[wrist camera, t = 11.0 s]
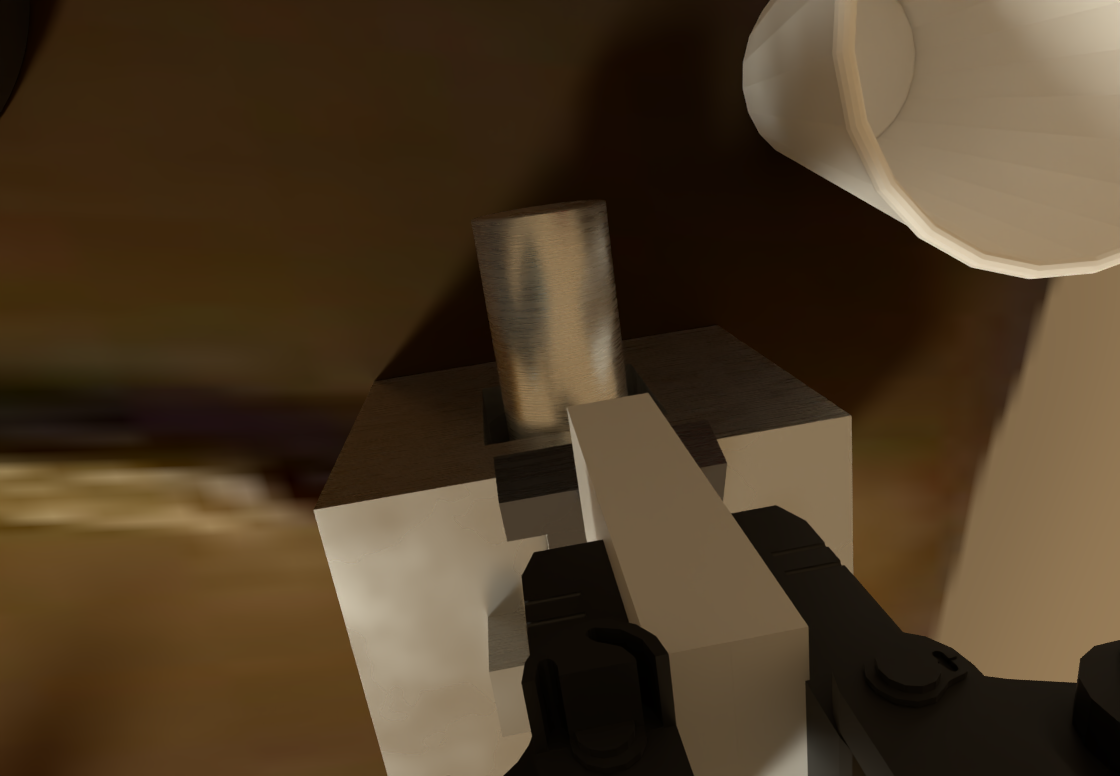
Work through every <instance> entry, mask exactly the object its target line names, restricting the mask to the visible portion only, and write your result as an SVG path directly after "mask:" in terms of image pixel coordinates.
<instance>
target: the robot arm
mask: <svg viewBox="0 0 1120 776" xmlns="http://www.w3.org/2000/svg"><path fill="white" fill-rule="evenodd" d="M29 17H30V0H0V112H1V111H2V109H3V107H4V106H5V104H6V102H7V100H8V98H9V96H10V94H11V92H12V90H13V87H14V85H15V83H16V80H17V77H18V74H19V71H20V68H21V65H22V62H23V57H24V53H25V49H26V44H27V37H28V30H29ZM567 412H568V419H569V426H570V433H571V440H572V446H573V453H574V460H575V467H576V473H577V480H578V487H579V494H580V501H581V507H582V514H583V521H584V528H585V534H586V539H587V542H586V543H581V544H575V545H570V546H565V547H559V548H554V549H548V550H543V551H537V552H534V553H533V555H532V557H531V559H530V560H529V562H528V564H527V566H526V568H525V570H524V572H523V574H522V576H521V577H522V586H523V596H524V604H525V615H526V624H527V635H528V644H529V654H530V656H529V657H528V658H527V660H526V661H525V664H524V670H523V676H522V681H521V684H522V689H523V694H524V699H525V704H526V709H527V714H528V719H529V724H530V729H531V734H532V737H531V740H530V743H529V745H528V747H527V748H526V750H525V751H524V753H523V754H522V756H521V758H520V759H519V761H518V762H517V763H516V764H515V765H514V766H513V767H512V768H511V769H510V770H509V771H508V772H506V773H505V774H504V775H503V776H1120V640H1118V641H1114V642H1110V643H1105V644H1101V645H1097V646H1094V647H1093V648H1092V649H1091V650H1090V651H1088V652H1087V653H1086V654H1085V655H1084V656H1083V657H1082V658H1081V659H1080V665H1079V672H1078V679H1077V683H1069V682H1068V683H1067V682H1051V681H1050V682H1049V681H1032V680H1031V681H1030V680H1014V679H1003V678H995V677H988V676H984V675H983V674H982V673H981V672H980V671H979V670H978V669H977V668H976V667H975V666H974V665H973V664H972V663H971V662H969V661H968V660H967V659H965V658H964V657H963V656H962V655H960V654H959V653H958V652H957V651H955V650H954V649H953V648H951V647H948V646H946V645H944V644H941V643H939V642H937V641H935V640H932V639H930V638H928V637H925V636H920V635H915V634H909V633H904V632H902V631H901V629H900V628H899V627H898V626H897V625H896V624H895V623H894V621H893V620H892V619H891V618H890V617H889V616H888V615H887V613H886V612H885V611H884V610H883V609H882V608H881V606H880V605H879V604H878V603H877V602H876V601H875V600H874V598H873V597H872V596H871V595H870V594H869V593H868V591H867V590H866V589H865V588H864V587H863V586H862V585H861V583H860V582H859V581H858V580H857V579H856V578H855V577H854V575H853V574H852V573H851V572H850V571H849V570H848V568H847V567H846V566H845V565H841V561H840V559H839V558H838V557H837V556H836V555H835V553H834V552H833V551H832V550H831V549H830V548H829V547H826V546H825V542H824V541H823V540H822V539H821V537H820V536H819V535H818V534H817V533H816V532H815V530H814V529H813V528H812V527H811V526H810V525H809V524H808V522H807V521H806V520H804V519H802V518H800V517H798V516H796V515H794V514H792V513H790V512H789V511H787V510H785V509H783V508H781V507H779V506H777V505H774V506H768V507H763V508H758V509H752V510H747V511H741V512H736V513H730V511H729V510H728V508H727V507H726V506H725V504H724V503H723V501H722V500H721V498H720V497H719V495H718V494H717V492H716V491H715V489H714V488H713V487H712V485H711V484H710V482H709V481H708V479H707V478H706V476H705V475H704V473H703V472H702V471H701V469H700V468H699V466H698V465H697V463H696V462H695V460H694V459H693V457H692V456H691V454H690V453H689V452H688V450H687V449H686V447H685V446H684V444H683V443H682V441H681V440H680V438H679V437H678V435H677V434H676V433H675V431H674V430H673V428H672V427H671V425H670V424H669V422H668V421H667V419H666V418H665V416H664V415H663V414H662V412H661V411H660V409H659V408H658V406H657V405H656V403H655V402H654V400H653V399H652V397H651V396H650V395H649V393H644V394H638V395H632V396H627V397H621V398H615V399H609V400H603V401H597V402H592V403H586V404H580V405H574V406H568V407H567Z"/></svg>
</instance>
